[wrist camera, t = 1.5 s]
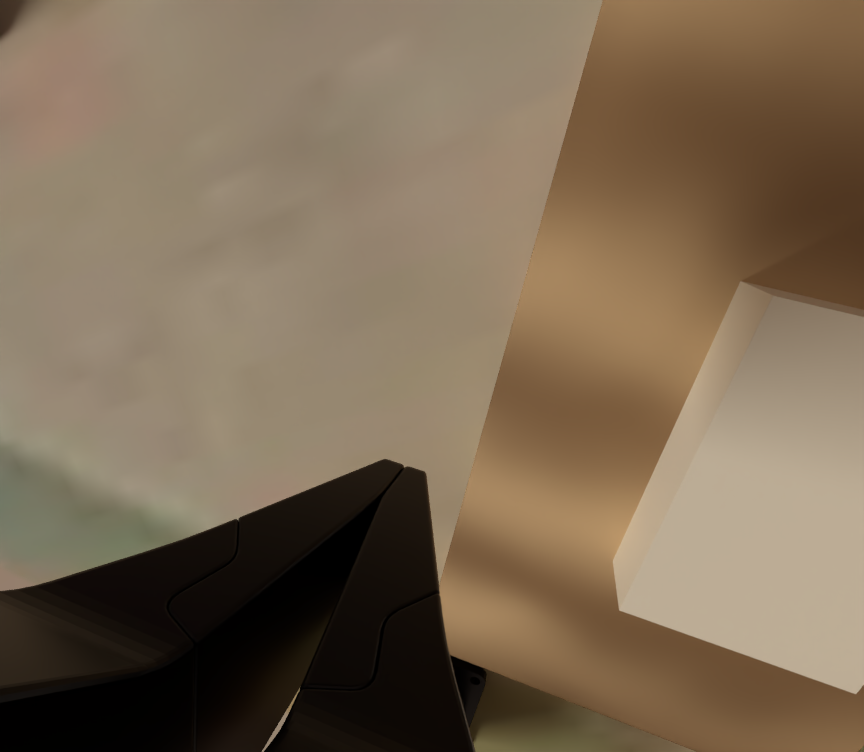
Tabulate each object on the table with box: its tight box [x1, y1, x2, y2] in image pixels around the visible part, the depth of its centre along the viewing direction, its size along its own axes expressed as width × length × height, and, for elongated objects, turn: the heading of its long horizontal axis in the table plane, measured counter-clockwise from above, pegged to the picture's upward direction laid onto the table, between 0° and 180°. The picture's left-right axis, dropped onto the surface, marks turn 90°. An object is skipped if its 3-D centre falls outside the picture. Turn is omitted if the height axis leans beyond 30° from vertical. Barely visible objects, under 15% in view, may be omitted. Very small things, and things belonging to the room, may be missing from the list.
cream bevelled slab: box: [613, 281, 864, 694], centre depth 12 cm, size 9×6×2 cm, turn 168°
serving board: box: [439, 0, 864, 752], centre depth 15 cm, size 22×14×4 cm, turn 168°
